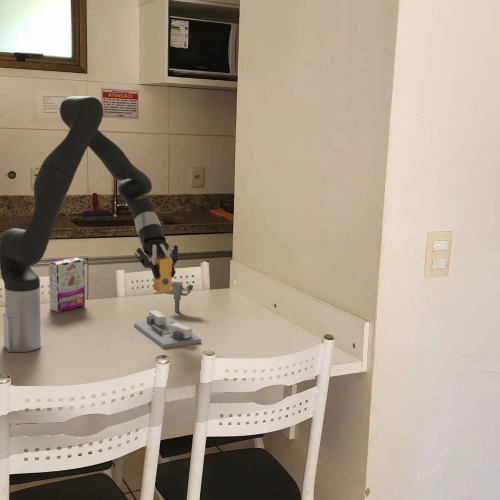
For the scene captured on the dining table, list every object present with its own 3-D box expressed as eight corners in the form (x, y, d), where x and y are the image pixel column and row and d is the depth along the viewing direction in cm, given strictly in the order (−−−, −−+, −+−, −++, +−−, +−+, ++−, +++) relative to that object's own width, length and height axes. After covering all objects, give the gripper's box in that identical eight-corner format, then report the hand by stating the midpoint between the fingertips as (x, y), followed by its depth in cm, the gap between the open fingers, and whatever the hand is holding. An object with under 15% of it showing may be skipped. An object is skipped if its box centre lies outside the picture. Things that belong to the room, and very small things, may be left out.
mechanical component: (190, 314, 226) (191, 285, 224) (161, 311, 228) (161, 282, 226) (192, 312, 229) (193, 283, 227) (163, 309, 231) (164, 280, 229)
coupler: (159, 292, 200) (160, 259, 198) (153, 288, 204) (153, 256, 202) (171, 291, 203) (172, 258, 200) (165, 287, 206) (165, 255, 204)
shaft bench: (163, 348, 193) (164, 333, 192) (134, 326, 211) (134, 312, 210) (200, 342, 199) (201, 328, 198) (169, 321, 217) (169, 308, 216)
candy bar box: (75, 303, 233) (75, 256, 229) (85, 306, 230) (85, 259, 226) (48, 309, 224) (48, 261, 220) (58, 313, 221) (57, 264, 218)
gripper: (131, 224, 202) (147, 272, 194) (174, 221, 209) (191, 268, 202) (124, 238, 207) (139, 286, 200) (166, 235, 215) (182, 281, 207)
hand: (165, 276), depth 201 cm, fingers closed on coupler, 4 cm apart
